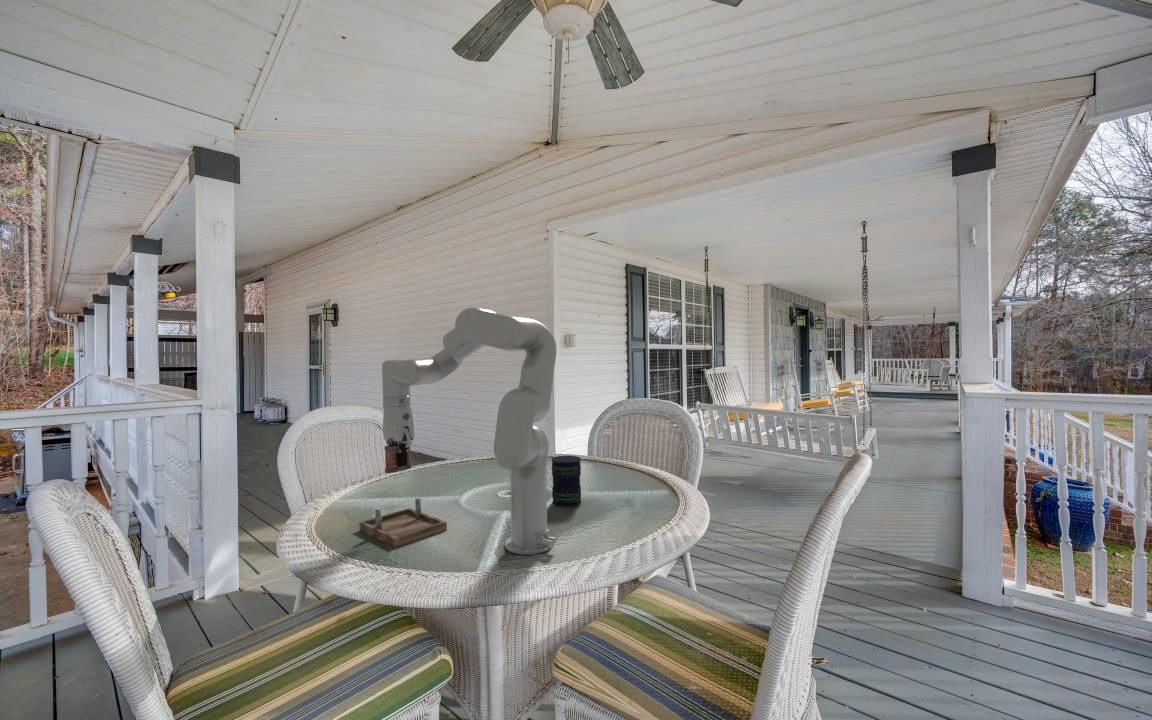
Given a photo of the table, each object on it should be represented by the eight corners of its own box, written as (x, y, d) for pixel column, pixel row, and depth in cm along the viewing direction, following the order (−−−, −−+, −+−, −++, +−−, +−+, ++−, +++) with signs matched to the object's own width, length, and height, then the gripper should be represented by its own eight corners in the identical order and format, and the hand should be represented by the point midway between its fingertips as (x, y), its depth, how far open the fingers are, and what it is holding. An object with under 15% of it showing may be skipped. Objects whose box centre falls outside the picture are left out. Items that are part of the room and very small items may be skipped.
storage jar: (547, 500, 167) (547, 457, 167) (573, 496, 171) (573, 454, 171) (559, 509, 158) (558, 463, 158) (586, 504, 162) (585, 460, 162)
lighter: (389, 473, 138) (388, 438, 138) (382, 472, 140) (381, 437, 140) (413, 468, 145) (413, 434, 144) (407, 466, 147) (406, 433, 146)
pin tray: (446, 530, 141) (446, 505, 141) (395, 547, 129) (394, 520, 129) (409, 515, 154) (409, 492, 154) (359, 530, 142) (359, 505, 142)
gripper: (423, 402, 140) (425, 466, 140) (394, 399, 150) (395, 458, 151) (399, 405, 134) (401, 471, 134) (370, 401, 145) (372, 463, 145)
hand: (398, 464), depth 142 cm, fingers closed on lighter, 3 cm apart
